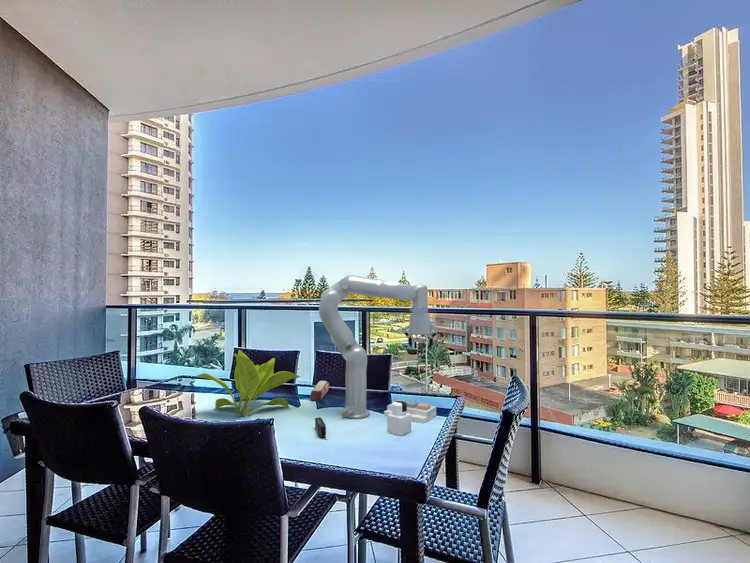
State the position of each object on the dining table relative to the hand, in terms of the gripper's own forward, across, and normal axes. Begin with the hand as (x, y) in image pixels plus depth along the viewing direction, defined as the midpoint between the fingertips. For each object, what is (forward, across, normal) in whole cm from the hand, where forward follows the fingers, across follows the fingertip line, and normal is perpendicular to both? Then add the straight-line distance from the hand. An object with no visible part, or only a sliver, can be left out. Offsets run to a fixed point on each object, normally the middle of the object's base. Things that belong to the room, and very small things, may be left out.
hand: (420, 346), depth 194 cm
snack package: (+30, -58, +8) cm, 65 cm away
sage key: (+27, -9, -8) cm, 29 cm away
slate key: (+27, -3, -9) cm, 28 cm away
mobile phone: (+30, -31, -45) cm, 62 cm away
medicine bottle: (+30, -2, -33) cm, 45 cm away
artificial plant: (+29, -76, -28) cm, 86 cm away
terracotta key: (+27, +3, -11) cm, 29 cm away
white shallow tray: (+30, -3, -11) cm, 32 cm away
